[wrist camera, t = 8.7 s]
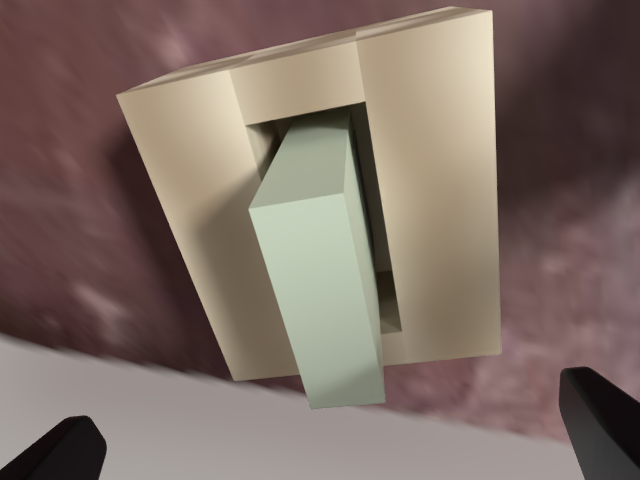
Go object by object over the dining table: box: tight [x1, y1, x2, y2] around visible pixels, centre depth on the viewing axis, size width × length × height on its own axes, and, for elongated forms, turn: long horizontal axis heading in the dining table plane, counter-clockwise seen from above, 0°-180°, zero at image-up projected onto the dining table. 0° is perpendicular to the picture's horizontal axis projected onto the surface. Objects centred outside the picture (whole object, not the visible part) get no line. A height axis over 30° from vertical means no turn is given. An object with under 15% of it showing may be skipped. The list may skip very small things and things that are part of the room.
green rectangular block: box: [248, 106, 386, 409], centre depth 14 cm, size 2×6×8 cm, turn 12°
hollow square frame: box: [116, 7, 501, 381], centre depth 16 cm, size 10×11×6 cm
